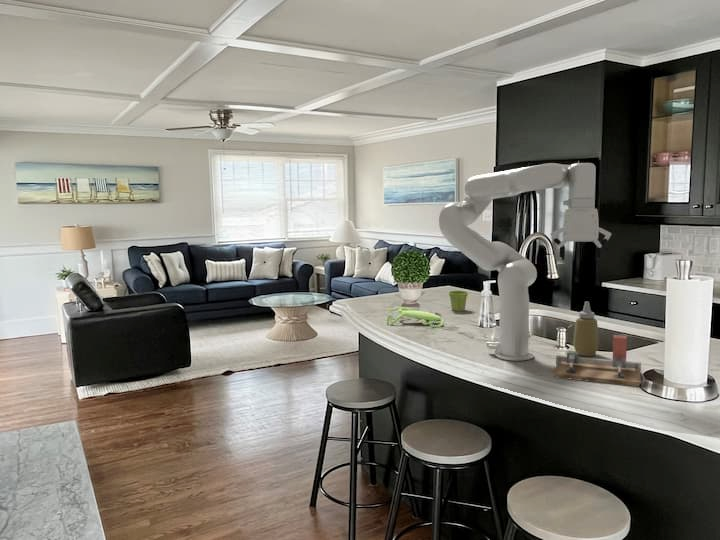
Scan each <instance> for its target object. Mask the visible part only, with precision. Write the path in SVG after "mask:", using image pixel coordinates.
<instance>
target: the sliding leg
mask: <svg viewBox="0 0 720 540" xmlns="http://www.w3.org/2000/svg"><path fill="white" fill-rule="evenodd" d="M612 337H613V339H612V342H613V343H612V360H613V365H612V367H618V376H621V368H626V361H627V352H628V351H627V348H628V336H627V335H625V334H623V335H622V334H613V336H612Z"/></svg>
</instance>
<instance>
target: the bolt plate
mask: <svg viewBox="0 0 720 540" xmlns="http://www.w3.org/2000/svg"><path fill="white" fill-rule="evenodd" d="M554 377H558V378H557V379H563V378H571V379H570V380H573V379H581V380H580V381H583V380H588V381H587V382H592V381H597V382H596V383H602V382H606V383H605V384H612V383H615V384H614V385H621V384H624V385H623V386H631V385H640V384H641V385H642V380H641V372H635V368H621V376H618V367H612V366H604V365H593V364H582V363H578V364H574V363H573V368H572V371H570V363H567V362H562V364H561V365H557V364H556V366H555V369H554V372H553V378H554Z"/></svg>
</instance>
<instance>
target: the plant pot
mask: <svg viewBox="0 0 720 540" xmlns="http://www.w3.org/2000/svg"><path fill="white" fill-rule="evenodd" d="M468 294H469V291H466V290H451V291H448V296H449V298H450V299H449V300H450V306H451V310H452V311H454V312H464V311H466V304H467V298H468Z"/></svg>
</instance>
